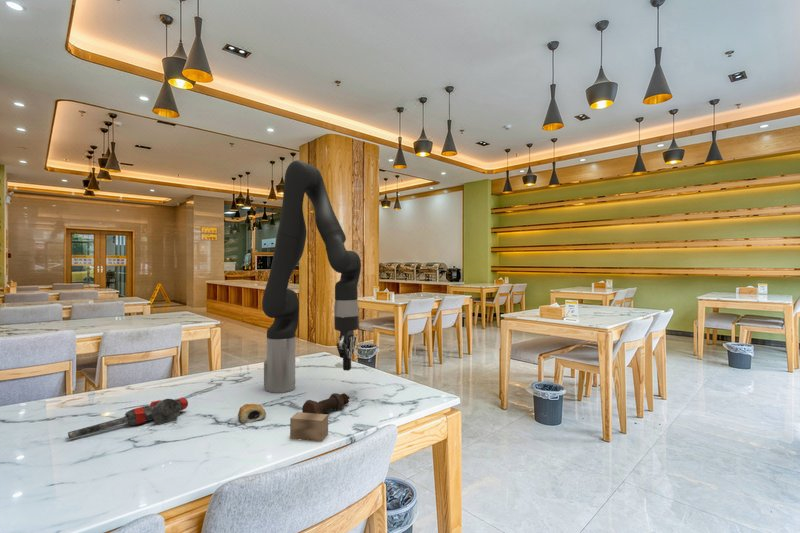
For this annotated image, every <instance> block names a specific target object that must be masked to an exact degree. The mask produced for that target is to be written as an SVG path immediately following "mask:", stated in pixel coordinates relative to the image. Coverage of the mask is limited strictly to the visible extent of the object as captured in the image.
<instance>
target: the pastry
mask: <svg viewBox="0 0 800 533" xmlns="http://www.w3.org/2000/svg"><path fill="white" fill-rule="evenodd" d="M266 415H267V413H266V409H264V407H263V406H262V405H261V404H257V403H245V404H244V405H242V406H240V408H239V410H238V413H237V416H238V417H239V421H240V422H241V423H242V424H250V423H254V422H258V421H259V422H260V421H261V420H264V418H265V417H266Z"/></svg>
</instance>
